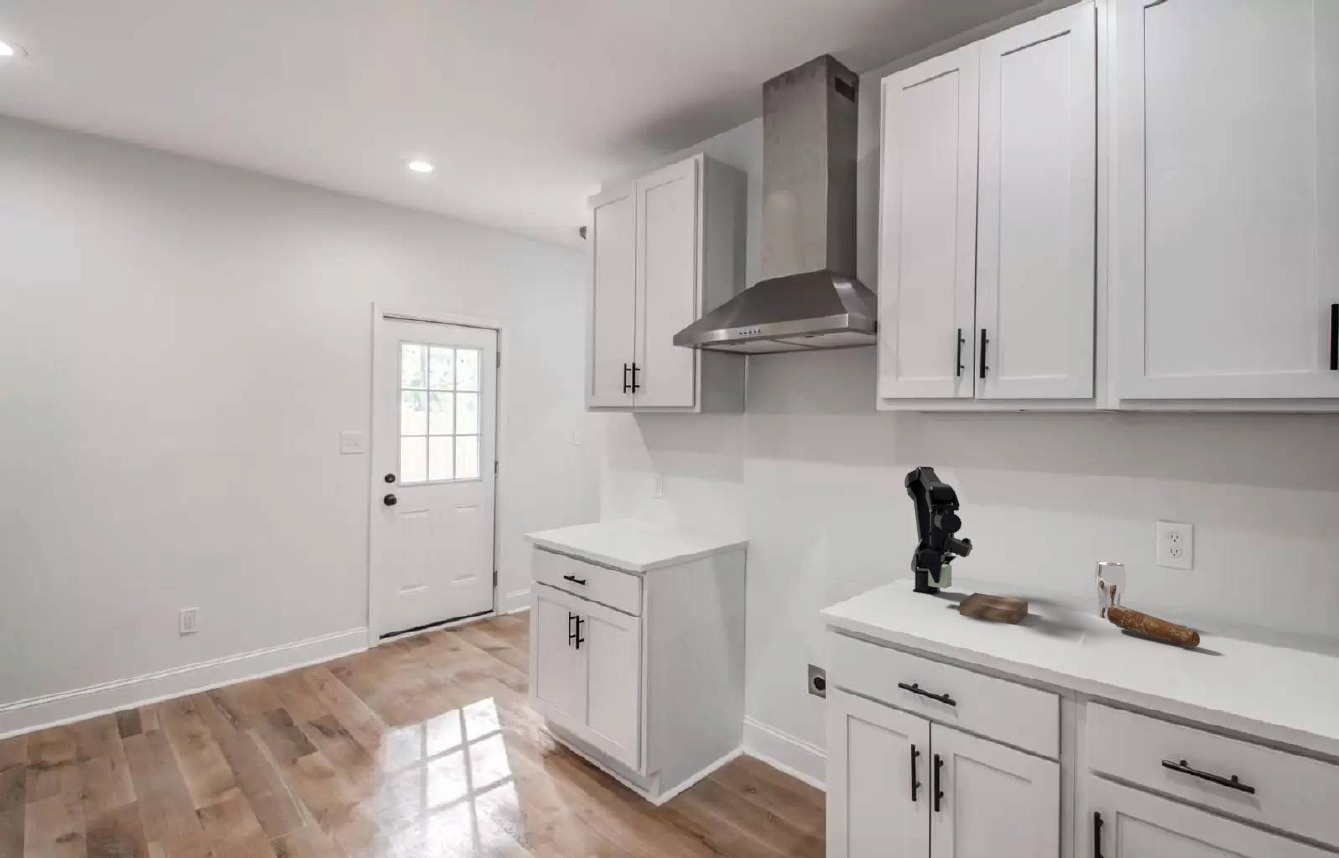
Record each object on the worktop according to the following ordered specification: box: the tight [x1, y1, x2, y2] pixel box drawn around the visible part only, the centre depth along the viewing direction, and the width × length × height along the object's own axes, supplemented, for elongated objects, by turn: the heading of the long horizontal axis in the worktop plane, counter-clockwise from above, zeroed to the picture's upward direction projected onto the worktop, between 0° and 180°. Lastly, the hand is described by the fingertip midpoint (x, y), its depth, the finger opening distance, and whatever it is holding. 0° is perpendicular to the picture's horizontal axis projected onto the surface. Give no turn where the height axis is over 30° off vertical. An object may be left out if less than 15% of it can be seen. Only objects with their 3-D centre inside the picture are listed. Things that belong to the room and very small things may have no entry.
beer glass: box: [1094, 561, 1127, 621], centre depth 178 cm, size 7×7×15 cm
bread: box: [1107, 604, 1201, 647], centre depth 160 cm, size 6×19×6 cm, turn 33°
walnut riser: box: [959, 592, 1029, 625], centre depth 181 cm, size 14×14×4 cm
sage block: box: [928, 564, 953, 589], centre depth 192 cm, size 5×5×6 cm
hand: (939, 581), depth 192 cm, fingers closed on sage block, 5 cm apart
